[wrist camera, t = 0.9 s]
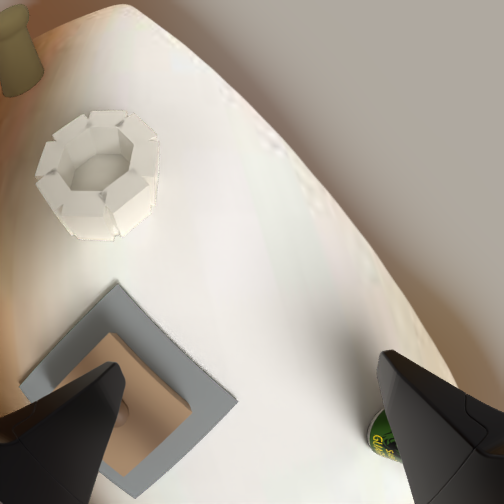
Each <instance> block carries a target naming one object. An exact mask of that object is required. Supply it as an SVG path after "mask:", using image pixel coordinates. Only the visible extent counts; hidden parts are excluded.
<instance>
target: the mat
mask: <svg viewBox="0 0 504 504" xmlns="http://www.w3.org/2000/svg"><path fill="white" fill-rule="evenodd" d="M109 332H110V333H117V334H118V335H119V337H120V338H121V339H122V340H123V341H124V342H125V343H126V344H127V345H128V346H129V347H130V348H131V349H132V350H133V351H134V352H135V354H136V355H137V356H138V357H139V358H140V359H141V360H142V361H143V362H144V363H145V364H146V365H147V366H148V367H149V368H150V369H151V370H152V371H154V372H155V373H156V374H157V375H158V376H159V377H160V378H161V379H162V380H163V381H164V382H165V383H166V384H167V385H168V386H169V387H171V388H172V389H173V390H174V391H175V392H176V393H177V394H178V395H180V396H181V397H182V398H183V399H184V400H185V401H186V402H188V403H189V405H190V407H191V410H192V414H191V415H190V416H189V417H188V418H187V419H186V420H185V421H184V422H183V423H181V424H180V425H179V426H178V427H177V428H176V429H175V430H174V431H173V432H172V433H171V434H170V435H169V436H168V437H167V438H166V439H165V440H164V441H163V442H162V443H161V444H160V445H159V446H158V447H156V448H155V449H154V450H153V451H152V452H151V453H150V454H149V455H148V456H147V457H146V458H145V459H143V460H142V461H141V462H140V463H139V464H138V465H137V466H136V467H135V468H133V469H132V470H131V471H130V472H129V473H128V474H127V475H125V476H124V477H123V476H122V475H120V474H119V473H118V472H116V471H115V470H114V469H113V468H111V467H110V466H109V465H108V464H107V463H105V462H104V461H103V460H102V462H101V465H100V468H99V472H100V473H101V474H103V475H104V476H105V477H106V478H108V479H109V480H110V481H111V482H113V483H114V484H115V485H117V486H118V487H119V488H121V489H122V490H123V491H125V492H126V493H127V494H129V495H130V496H132V497H133V498H134V499H136V498H137V497H138V496H139V495H141V494H142V493H143V492H144V491H145V490H147V489H148V488H149V487H150V486H151V485H152V484H154V483H155V482H156V481H157V480H158V479H159V478H161V477H162V476H163V475H164V474H165V473H166V472H167V471H168V470H170V469H171V468H172V467H173V466H174V465H175V464H176V463H177V462H178V461H179V460H181V459H182V458H183V457H184V456H185V455H186V454H187V453H188V452H189V451H190V450H191V449H192V448H193V447H194V446H195V445H196V444H197V443H198V442H199V441H200V440H202V439H203V438H204V437H205V436H206V435H207V434H208V433H209V432H210V431H211V430H212V429H213V428H214V427H215V426H216V425H217V424H218V423H219V421H220V420H221V419H222V418H223V417H224V416H225V415H226V414H227V413H228V412H229V411H230V410H231V409H232V408H233V407H234V406H235V405H236V404H237V403H238V402H239V401H237V400H236V399H235V398H234V397H233V396H231V395H230V394H229V393H228V392H227V391H225V390H224V389H223V388H222V387H221V386H220V385H218V384H217V383H216V382H215V381H214V380H213V379H212V378H210V377H209V376H208V375H207V374H206V373H205V372H204V371H203V370H202V369H200V368H199V367H198V366H197V365H196V364H195V363H194V362H193V361H192V360H191V359H190V358H189V357H188V356H186V355H185V354H184V353H183V352H182V351H181V350H180V349H179V348H178V347H177V346H176V345H175V344H174V343H173V342H172V341H171V340H170V339H169V338H168V337H167V336H166V335H165V334H164V333H163V332H162V331H161V330H160V329H159V328H158V327H157V326H156V325H155V324H154V323H153V322H152V321H151V320H150V319H149V317H148V316H147V315H146V314H145V313H144V312H143V311H142V310H141V309H140V308H139V307H138V306H137V305H136V303H135V302H134V301H133V300H132V299H131V298H130V297H129V296H128V295H127V293H126V292H125V291H124V290H123V289H122V288H121V287H120V285H119V284H117V285H116V286H115V287H114V288H113V289H112V290H111V291H110V292H109V293H107V294H106V295H105V296H104V297H103V298H102V299H101V300H100V301H99V302H98V303H97V304H96V305H95V306H94V307H93V308H92V309H91V310H90V311H89V312H88V313H87V314H86V315H85V316H84V317H83V318H82V319H81V320H80V321H79V322H78V323H77V324H76V325H75V326H74V327H73V328H72V329H71V330H70V331H69V332H68V333H67V335H66V336H65V337H64V338H63V339H62V340H61V341H60V342H59V343H58V344H57V345H56V346H55V347H54V348H53V349H52V350H51V352H50V353H49V354H48V355H47V356H46V357H45V358H44V359H43V360H42V361H41V362H40V364H39V365H38V366H37V367H36V368H35V369H34V370H33V371H32V373H31V374H30V375H29V376H28V377H27V378H26V379H25V381H24V382H23V383H22V384H21V385H20V386H19V388H20V389H21V390H22V392H23V393H24V394H25V396H26V397H27V398H28V399H29V401H30V402H31V403H33V402H35V401H37V400H39V399H40V398H42V397H44V396H46V395H48V394H50V393H51V392H52V391H53V390H54V389H55V388H56V387H57V386H58V385H59V384H60V383H61V382H62V381H63V380H64V379H65V377H66V376H67V375H68V374H69V373H70V372H71V371H72V370H73V369H74V368H75V367H76V366H77V365H78V364H79V363H80V362H81V361H82V360H83V359H84V358H85V357H86V356H87V355H88V354H89V353H90V352H91V351H92V350H93V349H94V348H95V347H96V345H97V344H98V343H99V342H100V341H101V340H102V339H103V338H104V337H105V336H106V335H107V334H108V333H109Z"/></svg>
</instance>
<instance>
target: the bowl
mask: <svg viewBox="0 0 504 504" xmlns="http://www.w3.org/2000/svg"><path fill="white" fill-rule="evenodd" d="M52 137H53V139H54V141H50V142H46V145H45V147H44V150H43V153H42V156H41V158H40V161H39V164H38V167H37V170H36V173H35V177H36V179H37V180H38V182H37V183H35V184H36V186H37V187H38V189H39V191H40V192H41V194H42V195H43V197H44V198H45V200H46V202H47V203H48V205H49V206H50V208H51V209H52V211H53V212H54V214H55V215H56V216H57V218H58V219H59V220H60V221H61V223H62V224H63V225H64V227H65V228H66V229H67V231H68V232H69V233H70V234H71V236H73V235H74V234H75V236H76V237H77V238H78V240H98V241H114V239H115V236H118V235H120V236H121V237H122V238H123V237H124V236H125V235H127V234H128V233H129V232H130V231H131V230H132V229H134V228H135V227H136V226H137V225H138V224H140V223H141V222H142V221H143V220H144V219H146V218H147V217H148V216H149V215H150V214H151V206H153V207H155V205H156V195H157V186H158V178H159V144H160V141H157V134H156V133H155V132H154V131H153V130H152V129H151V128H150V127H149V126H148V125H147V124H146V123H144V122H143V121H142V120H141V119H140V118H139V117H138V116H137V115H136V114H135V113H133V114H131V115H130V116H127V110H104V111H91V113H90V116H89V118H87V117H86V116H85V115H84V113H83V114H82V115H80V116H79V117H77V118H76V119H74V120H73V121H71V122H70V123H68V124H67V125H65V126H64V127H62V128H61V129H60V130H58V131H57V132H55V133H54V134H53V135H52Z"/></svg>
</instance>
